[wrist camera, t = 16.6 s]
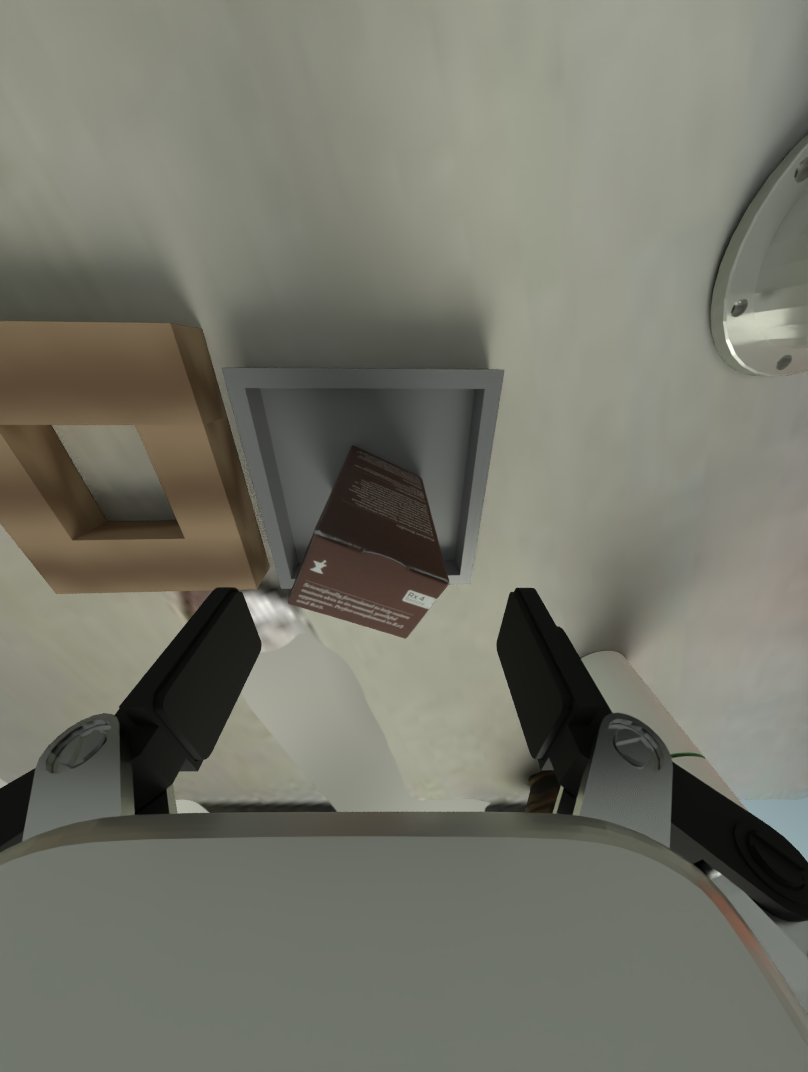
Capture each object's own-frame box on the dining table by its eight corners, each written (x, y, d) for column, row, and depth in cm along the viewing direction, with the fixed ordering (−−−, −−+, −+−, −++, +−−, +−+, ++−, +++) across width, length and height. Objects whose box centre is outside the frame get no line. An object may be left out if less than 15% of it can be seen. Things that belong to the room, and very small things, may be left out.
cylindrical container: (564, 689, 39) (781, 1089, 17) (570, 655, 35) (853, 1108, 14) (619, 681, 39) (909, 1081, 17) (631, 646, 35) (1017, 1098, 13)
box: (330, 495, 23) (280, 606, 12) (352, 442, 21) (314, 521, 10) (399, 525, 24) (407, 645, 14) (425, 478, 22) (457, 577, 12)
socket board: (-79, 325, 17) (-162, 318, 14) (202, 329, 18) (170, 323, 15) (89, 571, 26) (56, 593, 24) (269, 567, 27) (256, 589, 24)
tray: (244, 367, 19) (221, 367, 16) (489, 369, 19) (504, 369, 17) (291, 567, 27) (281, 588, 24) (462, 563, 28) (470, 584, 25)
